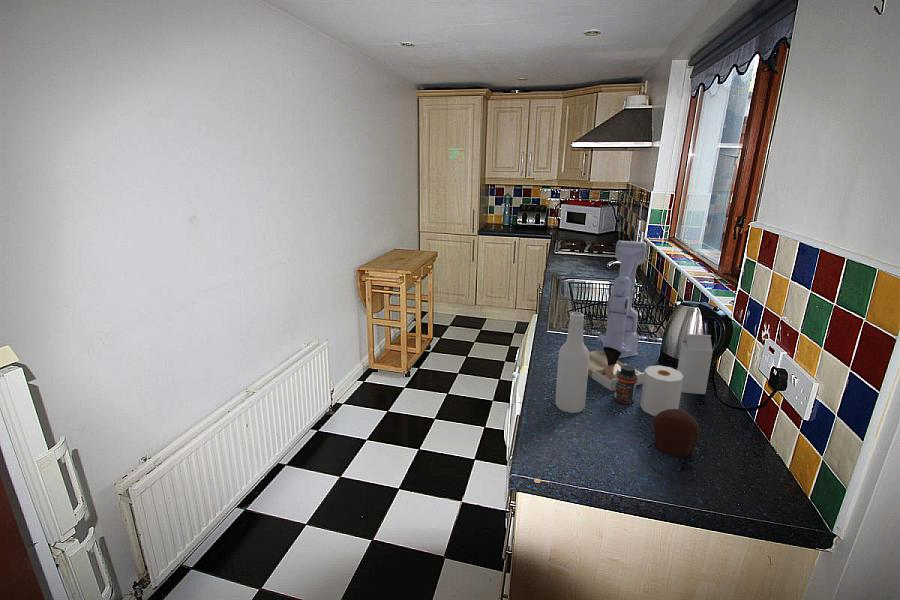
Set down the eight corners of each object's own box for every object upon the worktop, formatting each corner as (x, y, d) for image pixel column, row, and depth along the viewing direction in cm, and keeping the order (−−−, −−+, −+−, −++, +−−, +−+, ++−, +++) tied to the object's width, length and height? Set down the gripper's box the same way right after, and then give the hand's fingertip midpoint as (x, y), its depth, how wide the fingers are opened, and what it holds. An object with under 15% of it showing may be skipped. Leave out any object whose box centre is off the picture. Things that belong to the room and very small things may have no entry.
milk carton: (705, 394, 143) (715, 339, 138) (681, 392, 145) (689, 338, 139) (698, 384, 150) (707, 331, 144) (675, 382, 151) (683, 330, 146)
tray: (624, 371, 160) (625, 361, 159) (645, 383, 151) (646, 372, 150) (591, 378, 155) (592, 367, 154) (611, 391, 146) (612, 380, 145)
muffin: (656, 429, 125) (661, 397, 122) (701, 444, 119) (707, 410, 116) (643, 450, 117) (648, 416, 114) (690, 467, 110) (696, 431, 107)
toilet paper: (683, 409, 135) (689, 373, 132) (667, 422, 129) (673, 384, 125) (650, 396, 143) (655, 362, 139) (634, 408, 136) (638, 372, 132)
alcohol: (571, 396, 143) (578, 307, 134) (591, 409, 135) (599, 316, 127) (549, 403, 140) (554, 311, 131) (567, 416, 132) (575, 320, 123)
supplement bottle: (612, 402, 140) (616, 369, 136) (615, 393, 145) (619, 361, 141) (633, 406, 137) (637, 373, 134) (635, 397, 142) (639, 365, 139)
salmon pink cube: (615, 370, 157) (617, 363, 155) (623, 379, 153) (625, 372, 152) (604, 372, 155) (607, 365, 154) (612, 381, 152) (615, 374, 150)
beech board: (598, 356, 172) (599, 350, 172) (624, 371, 160) (625, 364, 159) (568, 361, 168) (568, 355, 167) (591, 378, 155) (592, 371, 154)
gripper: (591, 325, 156) (588, 360, 161) (620, 340, 143) (616, 378, 148) (608, 322, 159) (604, 357, 163) (638, 336, 146) (633, 374, 150)
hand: (611, 367), depth 155 cm, fingers closed, pressing on salmon pink cube
